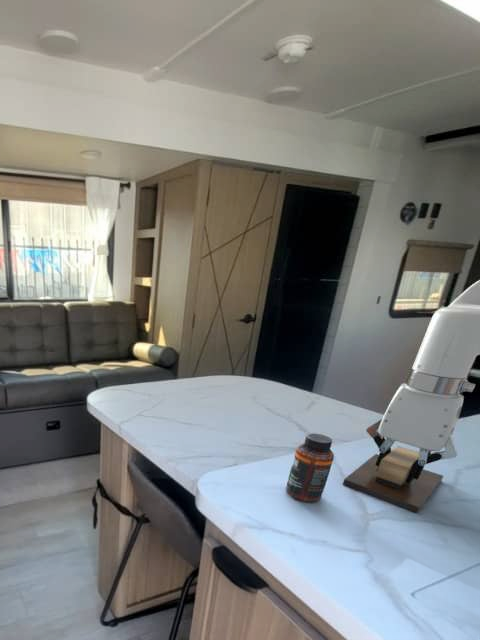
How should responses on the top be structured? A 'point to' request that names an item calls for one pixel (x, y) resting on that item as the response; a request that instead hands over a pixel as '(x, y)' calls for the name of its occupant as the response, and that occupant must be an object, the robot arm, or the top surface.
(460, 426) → the top surface
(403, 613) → the top surface
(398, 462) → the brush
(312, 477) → the supplement bottle
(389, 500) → the board
